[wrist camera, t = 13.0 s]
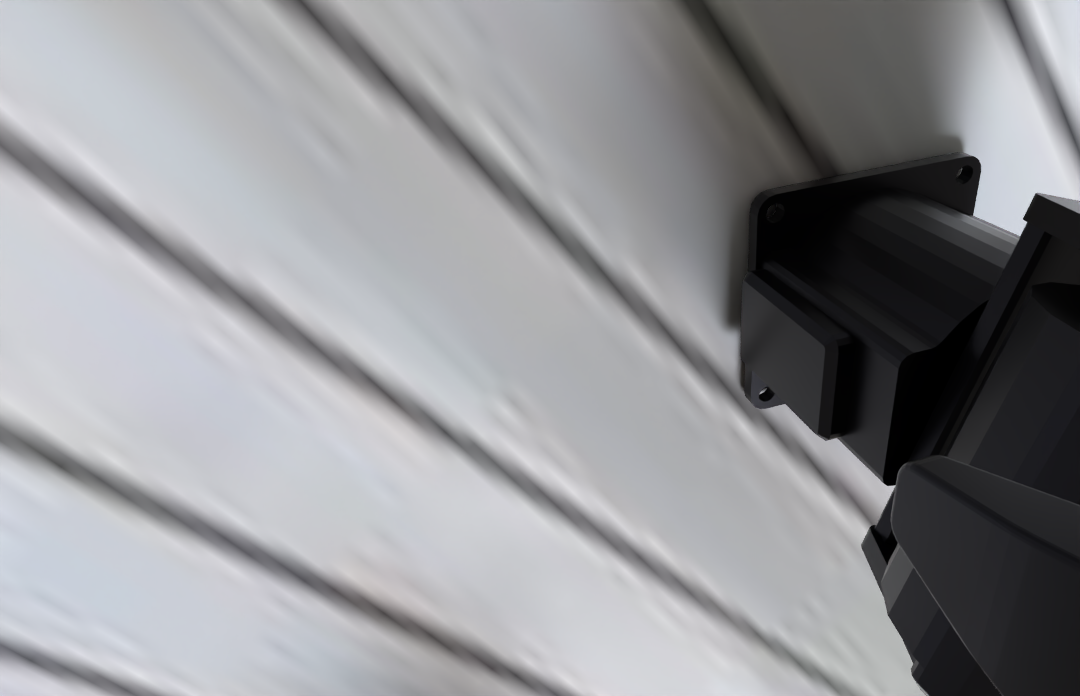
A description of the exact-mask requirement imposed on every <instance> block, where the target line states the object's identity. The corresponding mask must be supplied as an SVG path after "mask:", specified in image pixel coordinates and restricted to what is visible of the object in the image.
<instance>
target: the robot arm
mask: <svg viewBox="0 0 1080 696" xmlns="http://www.w3.org/2000/svg"><path fill="white" fill-rule="evenodd" d="M961 168H962V171H961V174H960V175H959V176H958V177H957V178H956V175H957V173H958V171H959V170H960V169H961ZM980 174H981V164H980V162H979V160H978V159H977V158H975V157H974V156H971V155H968V154H965V153H958V152H957V153H952V154H947V155H942V156H936V157H931V158H926V159H921V160H916V161H911V162H906V163H901V164H896V165H891V166H886V167H881V168H876V169H870V170H865V171H860V172H855V173H850V174H845V175H840V176H835V177H830V178H825V179H820V180H815V181H810V182H805V183H799V184H794V185H789V186H784V187H779V188H774V189H769V190H766V191H764V192H761V193H760V194H759V195H758V196H757V197H756V198H755V199H754V201H753V203H752V204H751V209H750V221H749V254H748V273H747V274H746V276H745V278H744V280H743V282H742V316H741V353H740V356H741V360H742V361H743V362H744V363H745V385H744V392H745V396H746V397H747V399H748V400H749V401H750V402H751V403H752V404H753V405H754V406H755V407H757V408H759V409H765V408H770V407H774V406H778V405H782V404H786V405H787V406H788V407H789V408H790V409H791V410H792V411H793V412H794V413H795V414H796V415H797V416H798V417H799V418H800V419H801V420H802V421H803V422H804V423H805V424H806V425H807V426H808V427H809V428H810V429H811V430H812V431H813V432H814V433H815V434H816V435H818V436H819V437H821V438H822V439H824V440H825V441H827V440H831V439H835V438H838V439H839V440H840V441H841V442H842V443H843V444H844V445H845V446H846V447H847V448H848V449H849V450H850V451H851V452H852V453H853V454H854V455H855V456H856V457H857V458H858V459H859V460H860V461H861V462H862V463H863V464H864V465H865V466H866V467H867V468H869V469H870V470H871V471H872V472H873V473H874V474H875V475H876V476H877V477H878V478H879V479H880V480H881V481H882V482H883V483H884V484H886V485H887V486H893V485H896V486H895V488H894V490H893V492H892V494H891V496H890V498H889V500H888V502H887V504H886V506H885V508H884V510H883V512H882V514H881V516H880V518H879V520H878V522H877V524H876V525H872V526H871V527H870V528H869V530H868V532H867V534H866V536H865V538H864V540H863V542H862V544H861V546H862V549H863V552H864V554H865V556H866V558H867V561H868V563H869V565H870V567H871V570H872V572H873V574H874V576H875V579H876V581H877V583H878V585H879V588H880V590H881V592H882V594H883V597H884V600H885V604H886V609H887V613H888V616H889V618H890V619H891V621H892V623H893V624H894V626H895V627H896V629H897V631H898V632H899V634H900V636H901V637H902V639H903V641H904V644H905V646H906V648H907V650H908V653H909V655H910V657H911V659H912V662H913V666H912V668H911V673H912V676H913V678H914V680H915V681H916V683H917V685H918V686H919V688H920V690H921V691H922V692H923V693H924V694H925V695H926V696H1080V201H1077V200H1071V199H1066V198H1061V197H1056V196H1051V195H1046V194H1041V193H1036V194H1035V196H1034V198H1033V200H1032V202H1031V204H1030V206H1029V208H1028V210H1027V212H1026V214H1025V216H1024V218H1023V220H1025V221H1027V224H1026V226H1025V228H1024V230H1023V232H1022V234H1021V236H1018V235H1016V234H1013V233H1011V232H1009V231H1007V230H1004V229H1002V228H1000V227H997V226H995V225H993V224H991V223H988V222H986V221H984V220H982V219H979V218H977V217H975V216H973V213H974V207H975V201H976V196H977V190H978V185H979V179H980ZM774 204H776V205H777V207H776V211H775V212H774V214H773V215H772V216H770V217H768V218H767V217H766V214H767V210H768V209H769V208H770V206H772V205H774ZM765 387H767V390H766V391H765V392H764V393H762V394H760V395H759V393H760V391H761V390H762V389H763V388H765Z"/></svg>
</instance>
